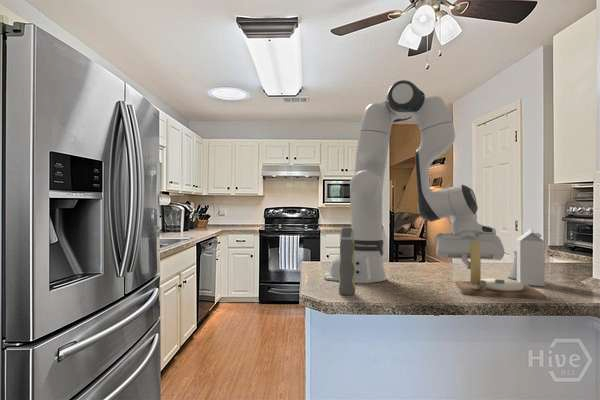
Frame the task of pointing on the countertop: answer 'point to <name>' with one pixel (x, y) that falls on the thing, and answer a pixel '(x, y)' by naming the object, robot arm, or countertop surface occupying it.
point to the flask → (513, 268)
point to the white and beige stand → (490, 283)
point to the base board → (525, 293)
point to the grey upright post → (347, 262)
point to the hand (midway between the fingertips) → (472, 268)
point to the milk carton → (531, 259)
